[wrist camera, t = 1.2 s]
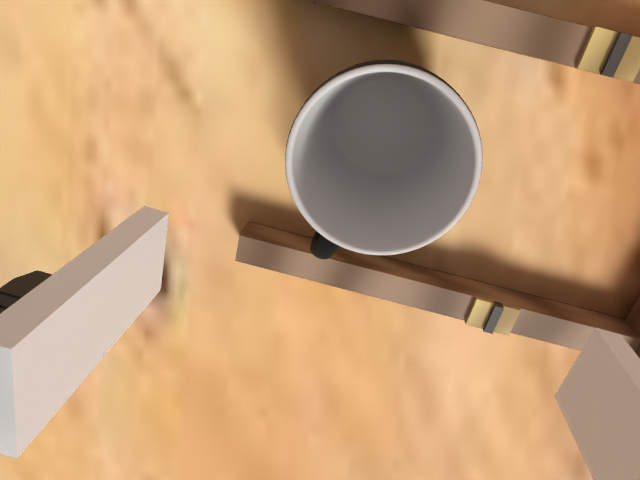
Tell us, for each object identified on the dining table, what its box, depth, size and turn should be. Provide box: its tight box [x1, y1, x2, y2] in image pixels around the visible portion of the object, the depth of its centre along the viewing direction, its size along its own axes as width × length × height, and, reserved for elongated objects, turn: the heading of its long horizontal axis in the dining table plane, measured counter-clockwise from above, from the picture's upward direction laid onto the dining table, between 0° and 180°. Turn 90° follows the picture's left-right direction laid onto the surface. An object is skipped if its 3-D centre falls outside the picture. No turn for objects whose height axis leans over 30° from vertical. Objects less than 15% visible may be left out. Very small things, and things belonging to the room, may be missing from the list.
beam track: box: [235, 0, 640, 358], centre depth 29 cm, size 30×19×4 cm, turn 77°
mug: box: [285, 60, 482, 260], centre depth 27 cm, size 12×9×10 cm
